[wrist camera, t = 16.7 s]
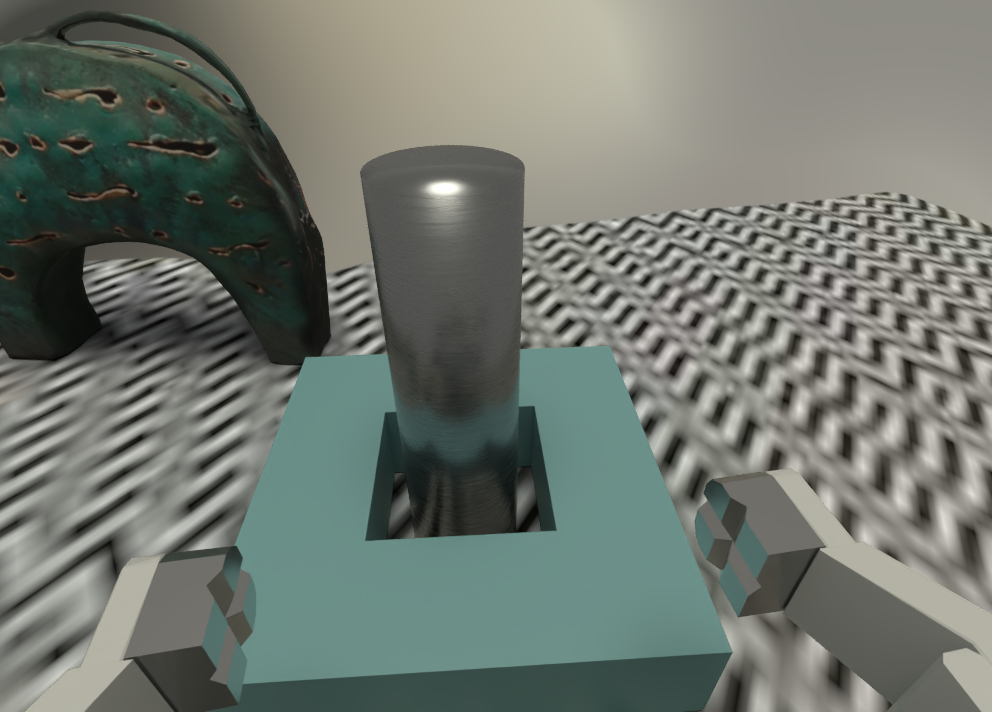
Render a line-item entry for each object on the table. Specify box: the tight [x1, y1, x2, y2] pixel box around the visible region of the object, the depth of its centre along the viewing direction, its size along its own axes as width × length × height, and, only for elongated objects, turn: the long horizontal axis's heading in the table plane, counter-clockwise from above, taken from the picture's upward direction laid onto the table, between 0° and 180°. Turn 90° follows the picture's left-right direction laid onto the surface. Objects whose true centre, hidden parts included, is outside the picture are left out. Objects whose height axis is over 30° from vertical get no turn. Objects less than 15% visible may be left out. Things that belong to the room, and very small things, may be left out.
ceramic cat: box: [0, 11, 331, 365], centre depth 26 cm, size 20×6×20 cm, turn 86°
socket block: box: [206, 346, 732, 712], centre depth 21 cm, size 14×14×4 cm
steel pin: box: [360, 145, 525, 538], centre depth 18 cm, size 4×4×14 cm
